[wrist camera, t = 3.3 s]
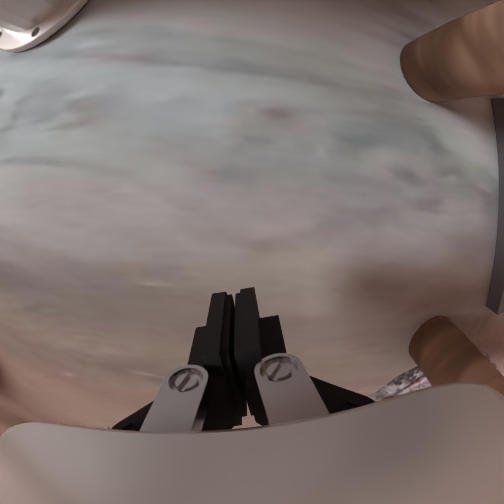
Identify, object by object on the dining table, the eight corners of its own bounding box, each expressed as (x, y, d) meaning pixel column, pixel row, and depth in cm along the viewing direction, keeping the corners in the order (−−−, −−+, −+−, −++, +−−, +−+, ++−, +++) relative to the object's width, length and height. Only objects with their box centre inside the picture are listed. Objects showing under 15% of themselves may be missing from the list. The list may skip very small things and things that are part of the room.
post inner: (393, 37, 14) (533, -34, 1) (443, 46, 14) (577, 9, 1) (407, 100, 16) (579, 79, 3) (456, 104, 16) (606, 103, 3)
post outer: (412, 324, 22) (502, 440, 9) (454, 310, 22) (546, 404, 8) (405, 366, 23) (472, 476, 10) (445, 351, 23) (517, 445, 10)
